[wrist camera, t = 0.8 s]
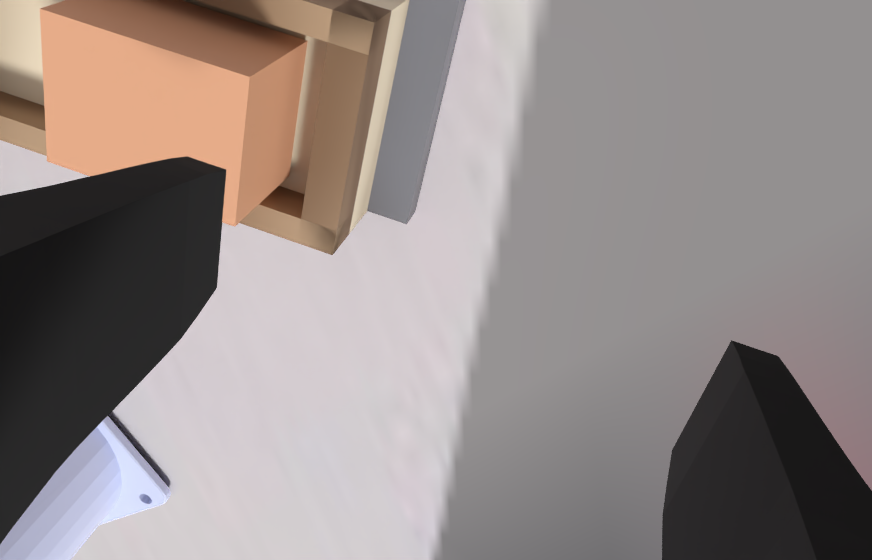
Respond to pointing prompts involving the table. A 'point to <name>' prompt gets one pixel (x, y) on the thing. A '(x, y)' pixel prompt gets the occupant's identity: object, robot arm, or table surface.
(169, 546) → the table surface
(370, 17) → the balance beam
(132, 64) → the block
